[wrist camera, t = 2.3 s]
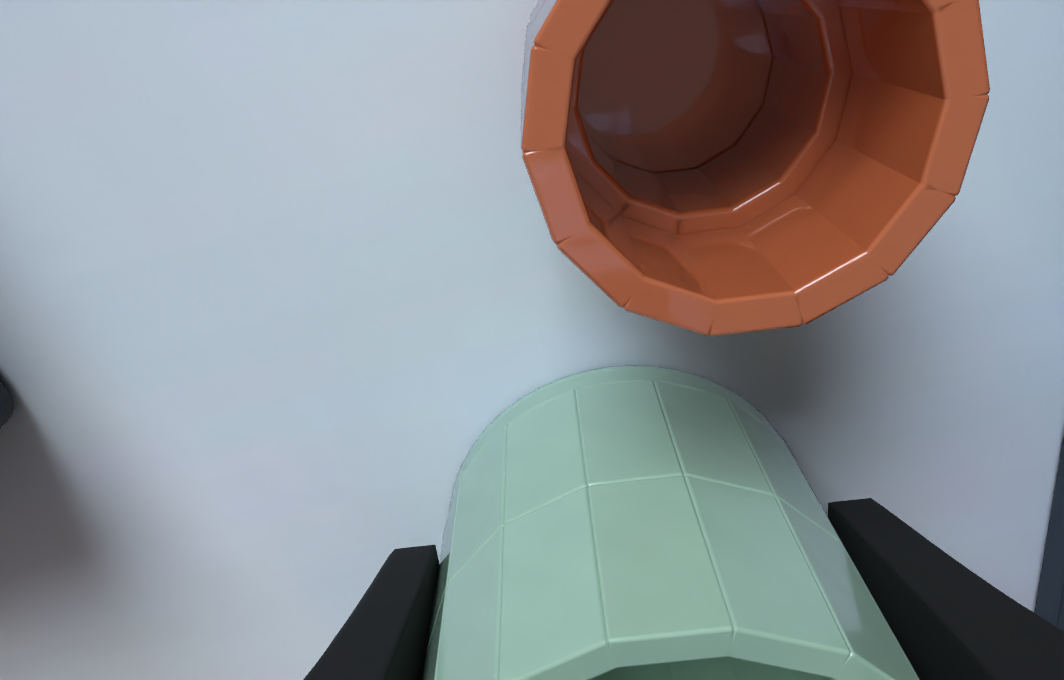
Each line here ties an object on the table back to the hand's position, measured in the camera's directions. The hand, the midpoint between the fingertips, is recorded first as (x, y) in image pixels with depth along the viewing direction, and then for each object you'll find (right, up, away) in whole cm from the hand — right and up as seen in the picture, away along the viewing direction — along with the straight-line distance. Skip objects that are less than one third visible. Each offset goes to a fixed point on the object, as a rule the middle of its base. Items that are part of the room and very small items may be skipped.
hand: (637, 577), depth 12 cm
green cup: (0, +1, +1) cm, 1 cm away
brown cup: (0, +7, -2) cm, 7 cm away
